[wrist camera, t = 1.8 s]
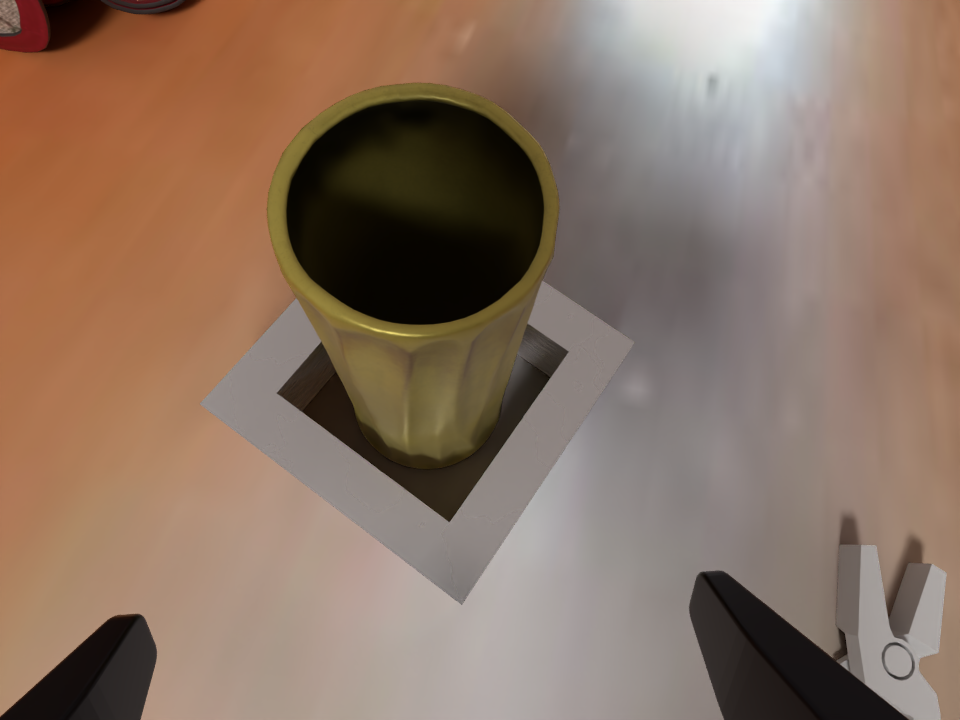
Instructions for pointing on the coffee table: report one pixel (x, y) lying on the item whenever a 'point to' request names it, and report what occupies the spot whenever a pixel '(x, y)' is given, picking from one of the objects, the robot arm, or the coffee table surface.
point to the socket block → (377, 498)
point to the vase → (416, 257)
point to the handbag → (25, 25)
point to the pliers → (890, 629)
